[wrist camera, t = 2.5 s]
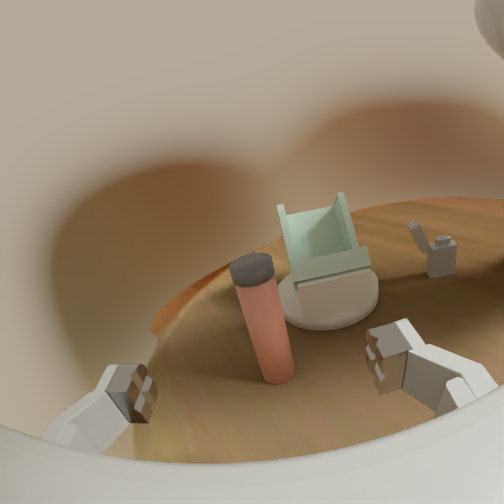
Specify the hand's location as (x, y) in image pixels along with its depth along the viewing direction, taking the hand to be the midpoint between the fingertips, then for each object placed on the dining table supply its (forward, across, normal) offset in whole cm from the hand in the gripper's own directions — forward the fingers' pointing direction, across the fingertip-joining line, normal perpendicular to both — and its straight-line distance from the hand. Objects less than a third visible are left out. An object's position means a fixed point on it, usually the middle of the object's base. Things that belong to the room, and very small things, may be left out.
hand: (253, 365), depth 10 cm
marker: (+13, 0, +14) cm, 19 cm away
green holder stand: (+24, -7, +13) cm, 28 cm away
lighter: (+23, -22, +13) cm, 35 cm away
